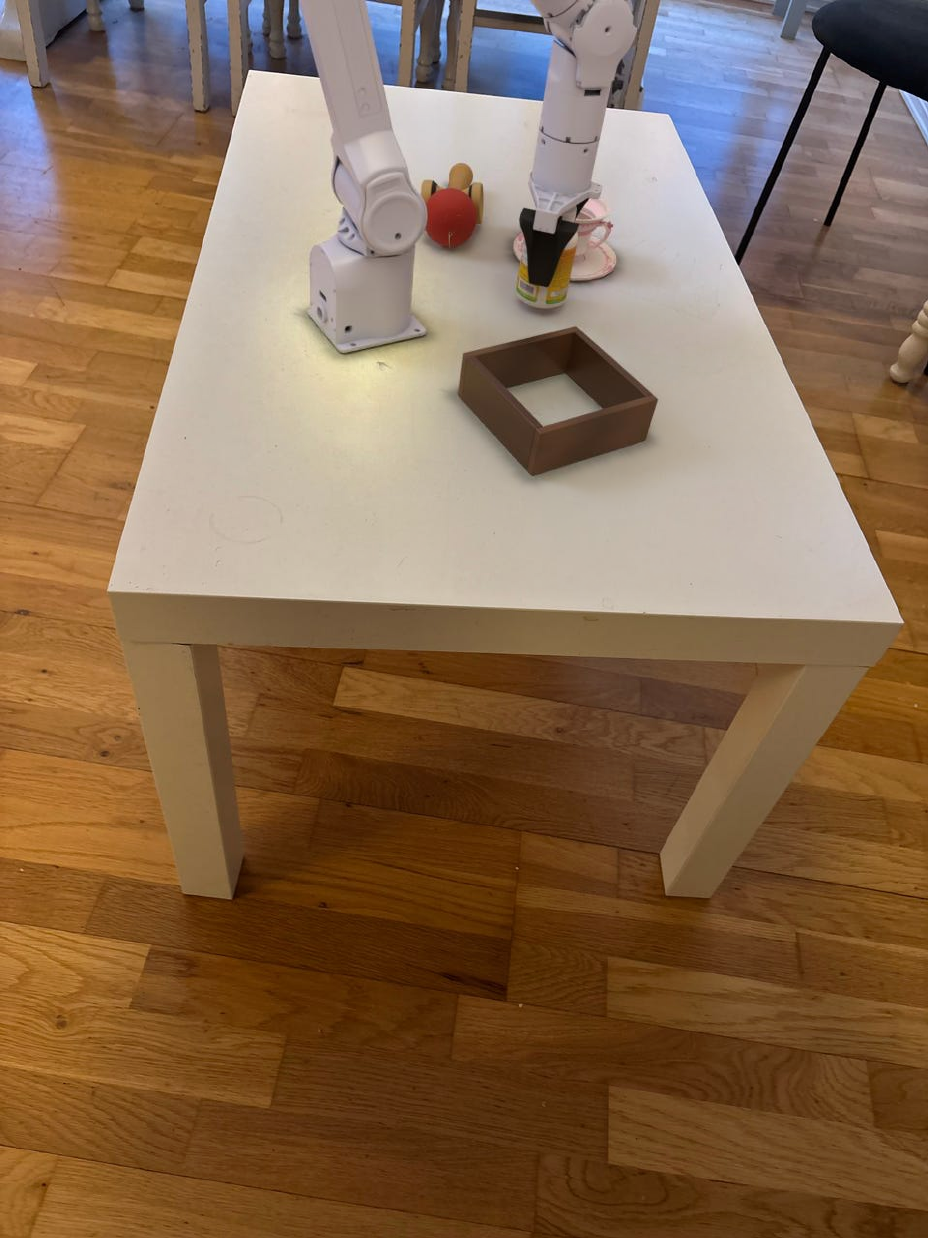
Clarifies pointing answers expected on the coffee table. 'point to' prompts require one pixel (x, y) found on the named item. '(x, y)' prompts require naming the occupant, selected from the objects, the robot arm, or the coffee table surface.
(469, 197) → the kendama
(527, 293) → the supplement bottle
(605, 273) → the teacup
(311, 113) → the coffee table surface
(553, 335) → the square frame
